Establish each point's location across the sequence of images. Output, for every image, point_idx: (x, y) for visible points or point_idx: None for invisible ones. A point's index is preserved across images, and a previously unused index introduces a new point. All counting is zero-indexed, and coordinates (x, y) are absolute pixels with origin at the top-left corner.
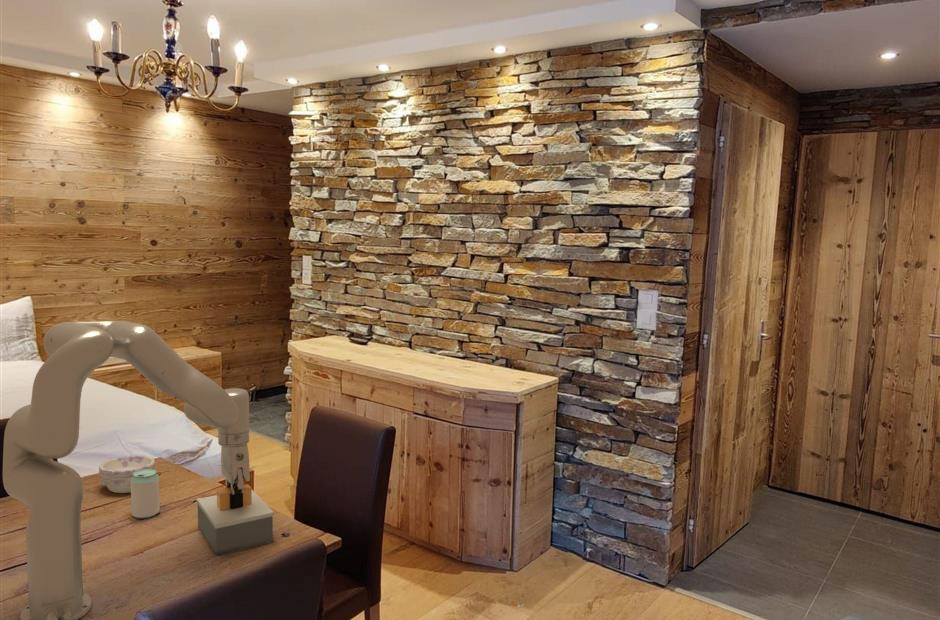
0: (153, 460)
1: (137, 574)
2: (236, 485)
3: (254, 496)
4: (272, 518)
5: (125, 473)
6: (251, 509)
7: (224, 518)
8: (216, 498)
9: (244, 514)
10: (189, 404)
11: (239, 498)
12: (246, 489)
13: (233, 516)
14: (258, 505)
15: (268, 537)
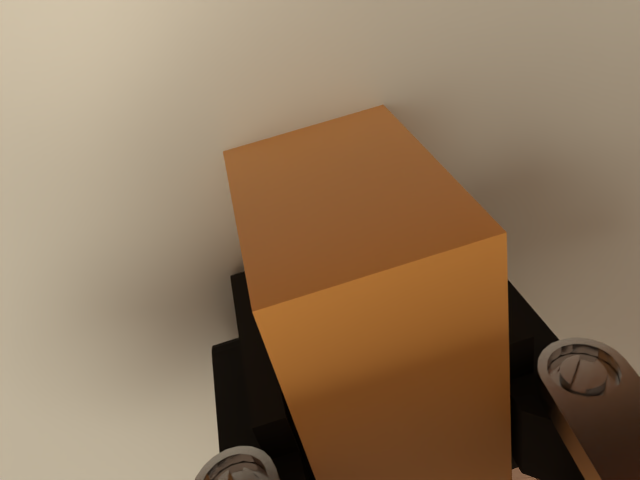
0: None
1: (525, 474)
2: (276, 474)
3: (67, 50)
4: None
5: None
6: (545, 108)
7: (606, 340)
8: (90, 465)
9: (631, 184)
10: None
11: (535, 322)
12: (501, 306)
13: (613, 279)
14: (463, 6)
15: None
